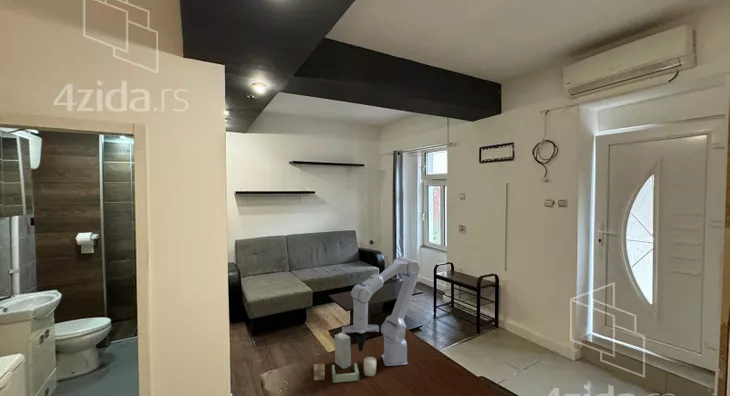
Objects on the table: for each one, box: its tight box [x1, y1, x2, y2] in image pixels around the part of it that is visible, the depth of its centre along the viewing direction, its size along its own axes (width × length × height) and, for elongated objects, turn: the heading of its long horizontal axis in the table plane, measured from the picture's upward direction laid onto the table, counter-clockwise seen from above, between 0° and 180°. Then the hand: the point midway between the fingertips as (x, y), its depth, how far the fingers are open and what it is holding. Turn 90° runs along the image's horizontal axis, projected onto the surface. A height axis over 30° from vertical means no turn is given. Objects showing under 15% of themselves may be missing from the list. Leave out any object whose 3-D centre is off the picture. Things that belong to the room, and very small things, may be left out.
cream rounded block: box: [363, 356, 377, 377], centre depth 120 cm, size 5×5×5 cm
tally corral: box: [331, 362, 360, 384], centre depth 118 cm, size 10×8×2 cm
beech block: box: [313, 363, 326, 381], centre depth 117 cm, size 4×4×4 cm
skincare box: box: [334, 332, 352, 370], centre depth 126 cm, size 6×4×12 cm
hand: (360, 349), depth 120 cm, fingers closed
